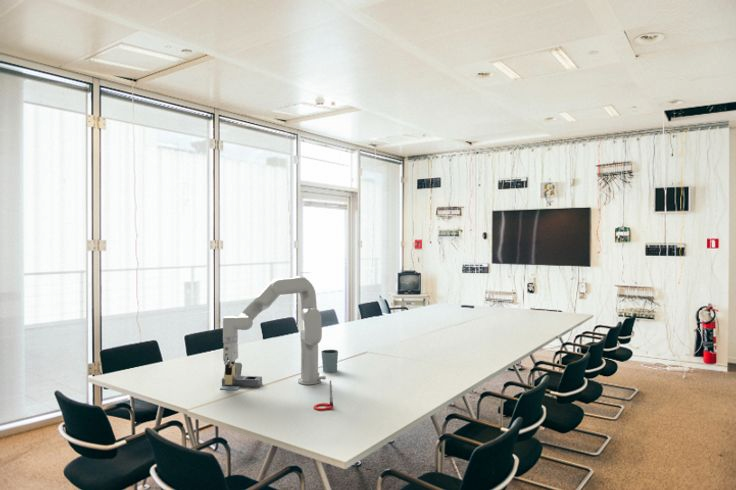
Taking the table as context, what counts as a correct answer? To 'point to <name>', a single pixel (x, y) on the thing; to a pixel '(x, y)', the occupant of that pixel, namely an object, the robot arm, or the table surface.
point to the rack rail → (245, 381)
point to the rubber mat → (230, 388)
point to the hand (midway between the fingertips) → (230, 373)
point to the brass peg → (230, 376)
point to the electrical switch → (237, 369)
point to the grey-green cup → (329, 360)
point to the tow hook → (330, 405)
